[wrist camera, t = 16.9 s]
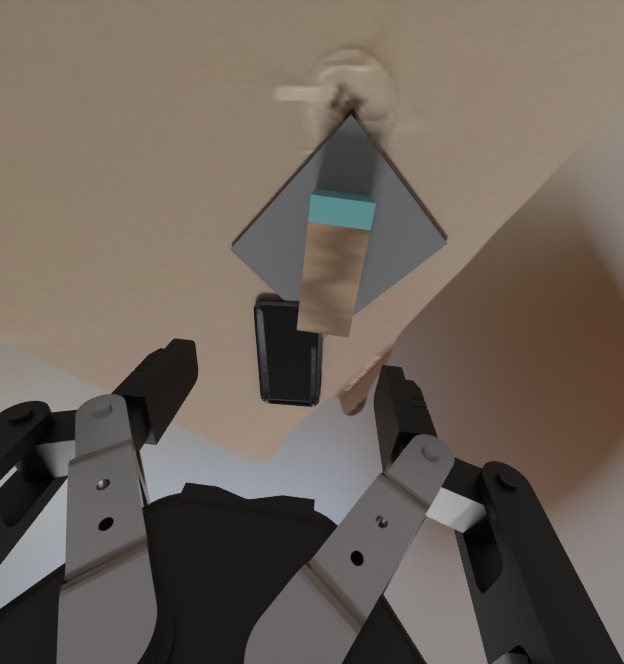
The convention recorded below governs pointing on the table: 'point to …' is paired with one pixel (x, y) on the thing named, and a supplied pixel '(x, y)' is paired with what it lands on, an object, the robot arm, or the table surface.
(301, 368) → the phone
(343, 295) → the walnut block
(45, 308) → the table surface
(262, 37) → the table surface
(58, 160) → the table surface
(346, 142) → the grey mat
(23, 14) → the table surface
